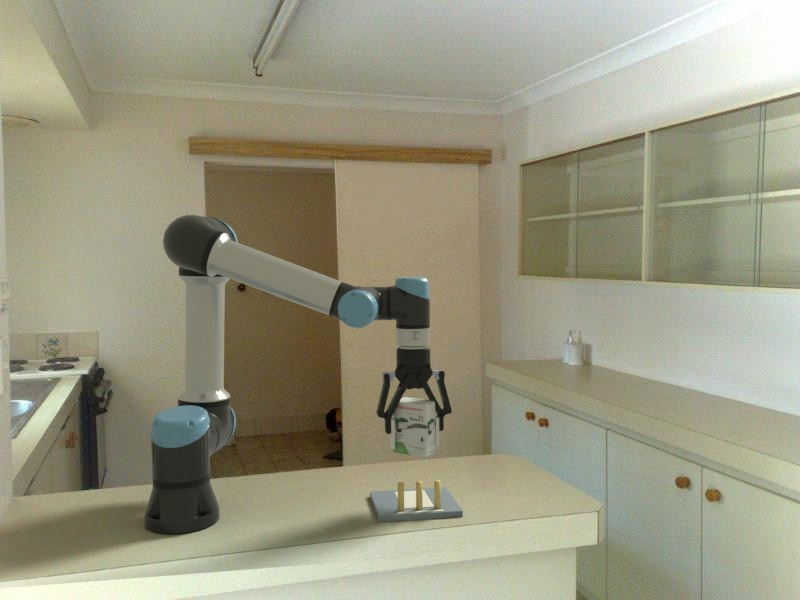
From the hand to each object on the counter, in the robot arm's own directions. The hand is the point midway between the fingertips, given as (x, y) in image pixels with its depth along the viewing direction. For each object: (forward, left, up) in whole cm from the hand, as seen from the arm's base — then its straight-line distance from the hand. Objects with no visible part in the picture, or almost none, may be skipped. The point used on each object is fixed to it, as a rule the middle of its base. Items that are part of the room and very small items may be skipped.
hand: (414, 446), depth 160 cm
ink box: (0, 0, -2) cm, 2 cm away
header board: (0, -1, -13) cm, 13 cm away
